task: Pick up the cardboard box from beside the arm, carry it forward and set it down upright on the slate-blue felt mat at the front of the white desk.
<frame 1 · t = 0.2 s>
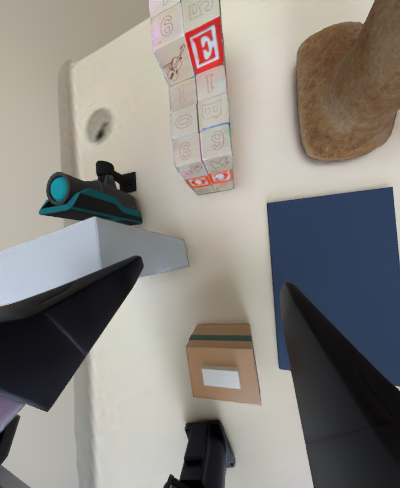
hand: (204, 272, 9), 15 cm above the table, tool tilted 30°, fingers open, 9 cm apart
surveillance camera: (129, 200, 28), on the table
stack of blocks: (211, 129, 24), on the table
cardboard box: (225, 344, 23), on the table
desk mat: (329, 284, 20), on the table
skincare box: (137, 262, 28), on the table
stone cup: (342, 108, 19), on the table
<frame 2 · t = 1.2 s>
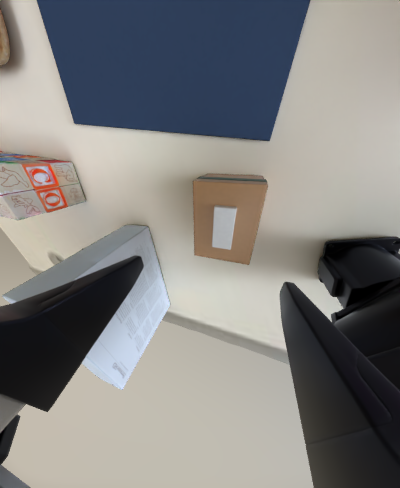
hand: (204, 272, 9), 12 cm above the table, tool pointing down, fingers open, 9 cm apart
stack of blocks: (34, 174, 26), on the table
cardboard box: (229, 209, 19), on the table
desk mat: (155, 31, 13), on the table
skincare box: (151, 269, 31), on the table
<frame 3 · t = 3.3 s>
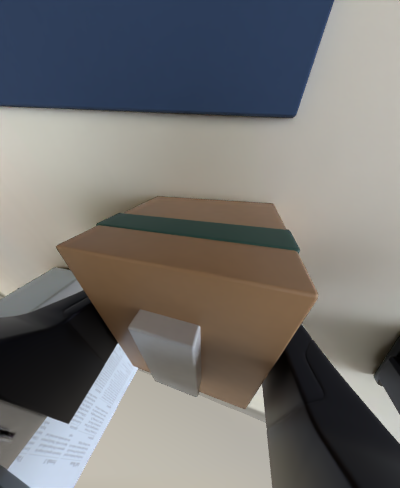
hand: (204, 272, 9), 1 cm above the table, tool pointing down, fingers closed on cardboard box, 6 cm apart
cardboard box: (208, 260, 10), on the table, touching gripper
skincare box: (109, 321, 22), on the table
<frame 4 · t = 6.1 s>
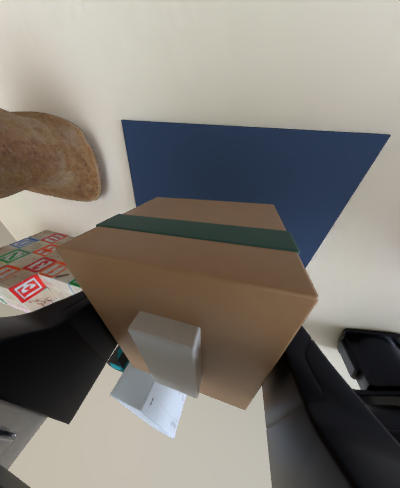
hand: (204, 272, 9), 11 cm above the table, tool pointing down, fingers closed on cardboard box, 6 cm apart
surveillance camera: (142, 310, 38), on the table
stack of blocks: (92, 251, 31), on the table
cardboard box: (208, 260, 10), point 10 cm above the table, touching gripper
desk mat: (221, 200, 17), on the table
skincare box: (186, 323, 35), on the table
stone cup: (60, 152, 20), on the table
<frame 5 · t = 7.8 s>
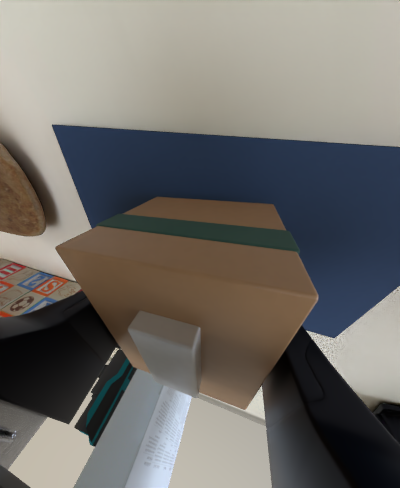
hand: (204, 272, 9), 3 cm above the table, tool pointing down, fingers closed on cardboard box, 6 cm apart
surveillance camera: (125, 345, 32), on the table
stack of blocks: (58, 284, 25), on the table
cardboard box: (208, 260, 10), point 2 cm above the table, touching gripper
desk mat: (213, 244, 12), on the table
skincare box: (176, 363, 29), on the table
when the fingers open (2 cm above the table, at t = 8.9 s): cardboard box stays where it is, resting on desk mat.
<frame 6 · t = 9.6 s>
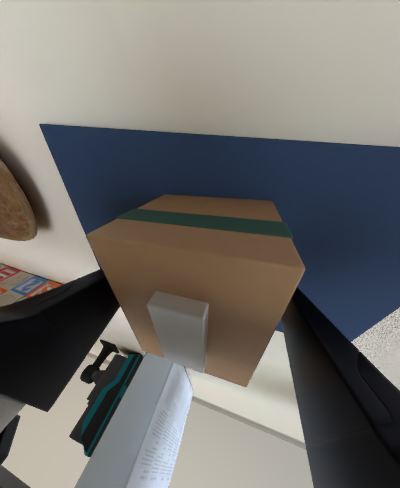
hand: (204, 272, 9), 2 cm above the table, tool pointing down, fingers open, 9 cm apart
surveillance camera: (123, 350, 32), on the table
stack of blocks: (53, 289, 24), on the table
cardboard box: (211, 254, 11), resting on desk mat
desk mat: (212, 250, 11), on the table
skincare box: (175, 369, 29), on the table
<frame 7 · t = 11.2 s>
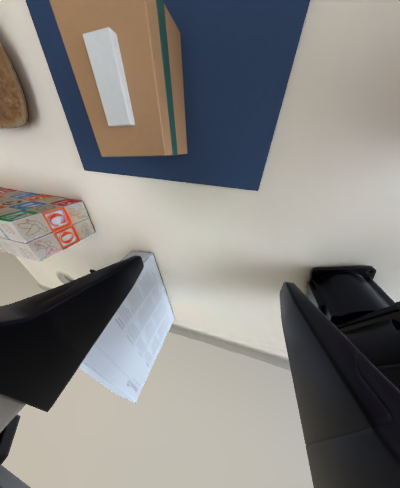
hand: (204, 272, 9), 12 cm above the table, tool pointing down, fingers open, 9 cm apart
stack of blocks: (46, 208, 28), on the table
cardboard box: (155, 106, 15), resting on desk mat
desk mat: (156, 106, 15), on the table
skincare box: (155, 288, 33), on the table
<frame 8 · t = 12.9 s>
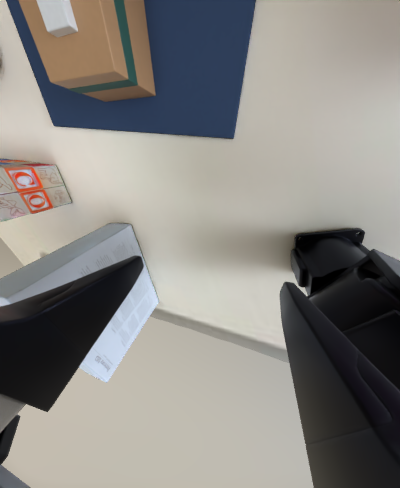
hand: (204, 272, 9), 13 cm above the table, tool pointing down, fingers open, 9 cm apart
stack of blocks: (22, 177, 27), on the table
cardboard box: (117, 36, 13), resting on desk mat
desk mat: (120, 37, 14), on the table
skincare box: (138, 267, 31), on the table
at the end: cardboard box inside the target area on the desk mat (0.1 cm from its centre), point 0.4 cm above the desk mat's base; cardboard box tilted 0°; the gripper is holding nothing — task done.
